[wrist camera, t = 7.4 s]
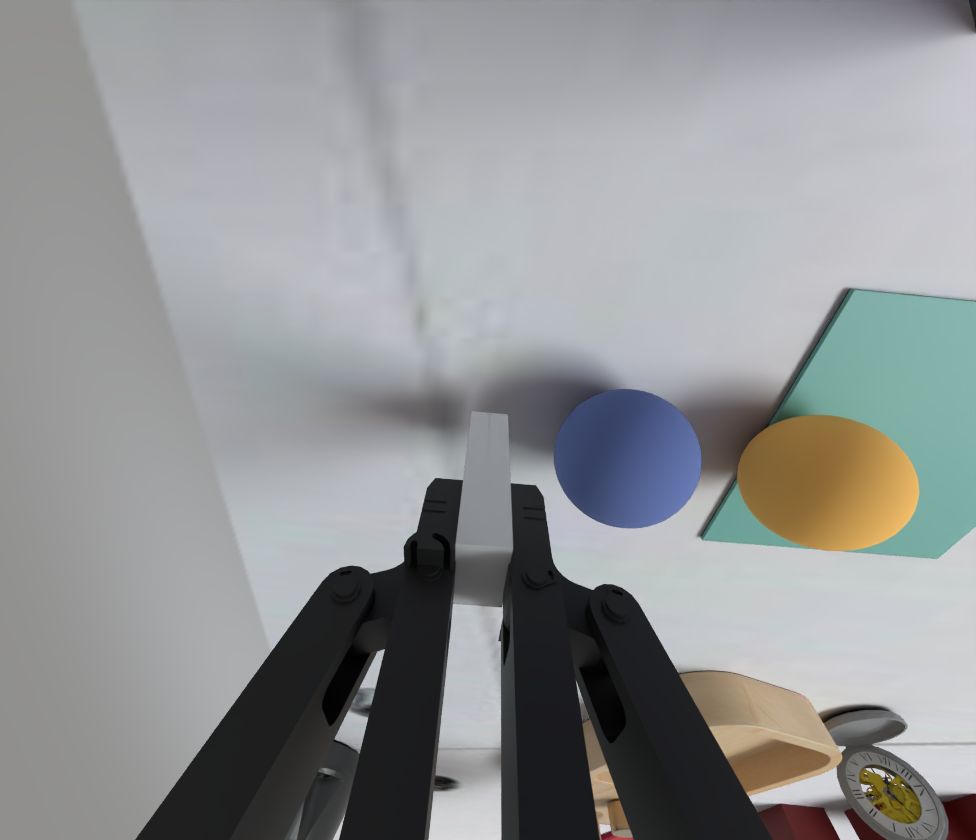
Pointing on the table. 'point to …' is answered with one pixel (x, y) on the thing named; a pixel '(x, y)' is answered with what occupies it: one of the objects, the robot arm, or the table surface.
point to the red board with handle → (613, 837)
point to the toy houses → (857, 822)
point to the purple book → (973, 9)
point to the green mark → (892, 411)
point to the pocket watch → (906, 810)
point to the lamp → (737, 739)
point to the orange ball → (828, 482)
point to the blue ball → (627, 458)
